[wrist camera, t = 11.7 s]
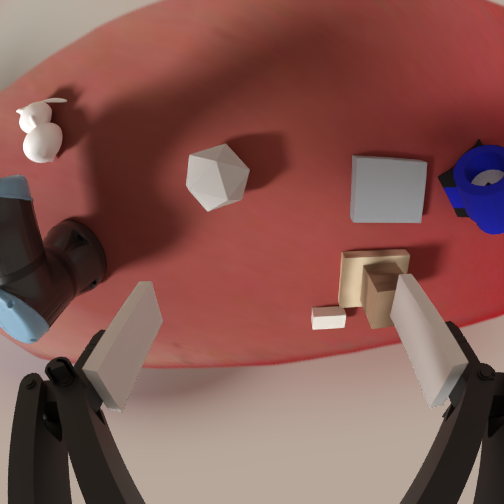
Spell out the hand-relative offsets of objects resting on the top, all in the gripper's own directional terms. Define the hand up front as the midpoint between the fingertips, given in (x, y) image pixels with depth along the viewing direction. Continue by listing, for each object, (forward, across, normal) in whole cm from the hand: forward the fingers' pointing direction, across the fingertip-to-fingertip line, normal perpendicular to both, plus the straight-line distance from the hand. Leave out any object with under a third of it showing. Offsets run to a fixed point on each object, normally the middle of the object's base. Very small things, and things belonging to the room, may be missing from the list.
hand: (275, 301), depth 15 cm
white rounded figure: (+32, -38, +14) cm, 52 cm away
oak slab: (+32, +17, -18) cm, 41 cm away
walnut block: (+29, +17, -18) cm, 38 cm away
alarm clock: (+32, +36, 0) cm, 48 cm away
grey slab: (+32, +18, -2) cm, 37 cm away
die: (+32, -8, +1) cm, 33 cm away
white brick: (+32, +9, -26) cm, 42 cm away
